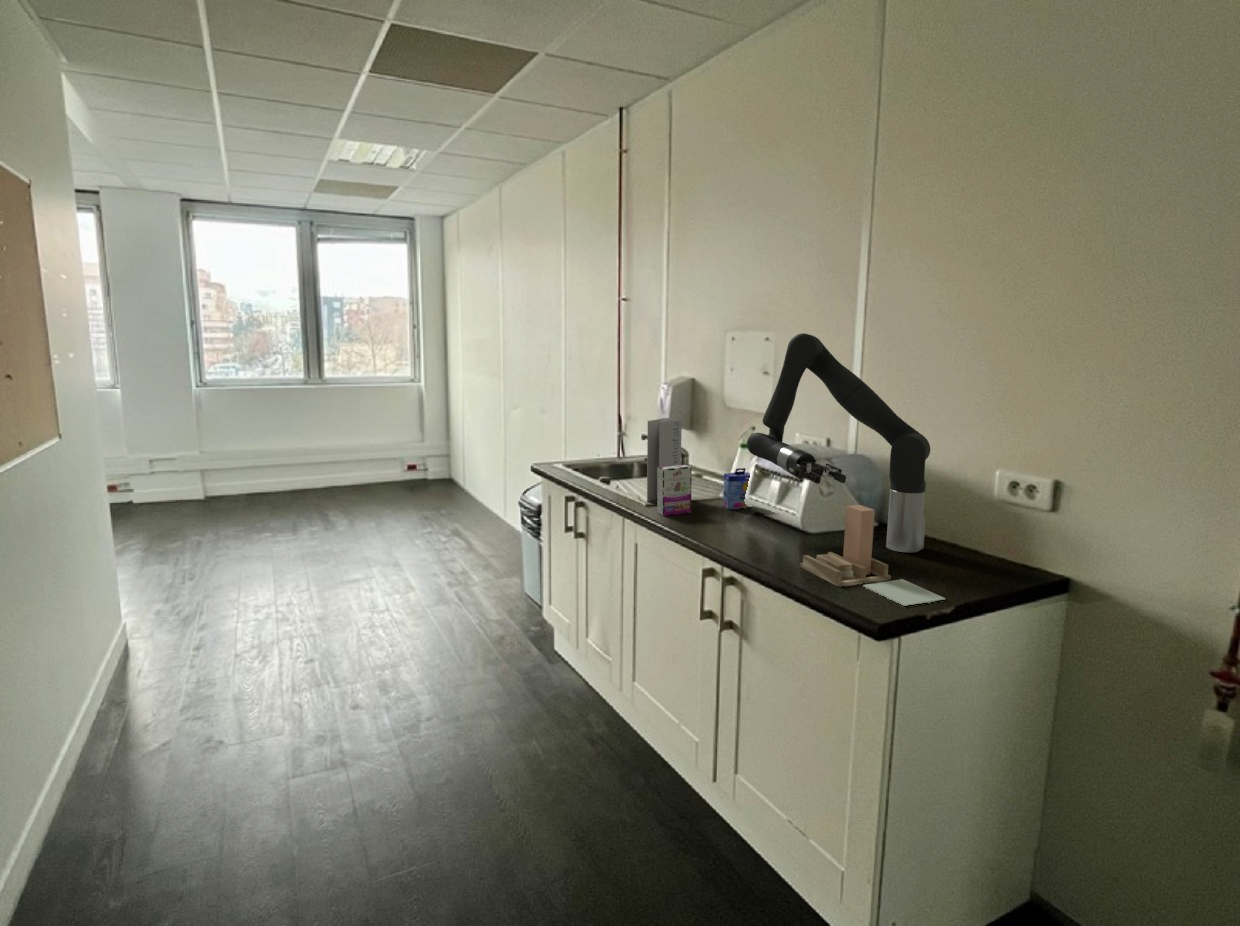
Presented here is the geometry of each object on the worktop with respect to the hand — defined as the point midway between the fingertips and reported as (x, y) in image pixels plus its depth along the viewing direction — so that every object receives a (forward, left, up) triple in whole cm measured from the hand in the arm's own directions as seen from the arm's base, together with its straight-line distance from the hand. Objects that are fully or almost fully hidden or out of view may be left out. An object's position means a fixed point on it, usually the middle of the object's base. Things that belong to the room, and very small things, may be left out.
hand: (832, 480), depth 190 cm
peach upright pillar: (0, +12, -22) cm, 25 cm away
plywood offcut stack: (+7, +12, -22) cm, 26 cm away
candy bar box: (+19, -60, -22) cm, 67 cm away
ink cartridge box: (-6, -60, -22) cm, 64 cm away
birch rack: (+4, +12, -22) cm, 25 cm away
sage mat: (0, +29, -22) cm, 36 cm away
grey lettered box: (+14, -80, -22) cm, 84 cm away
